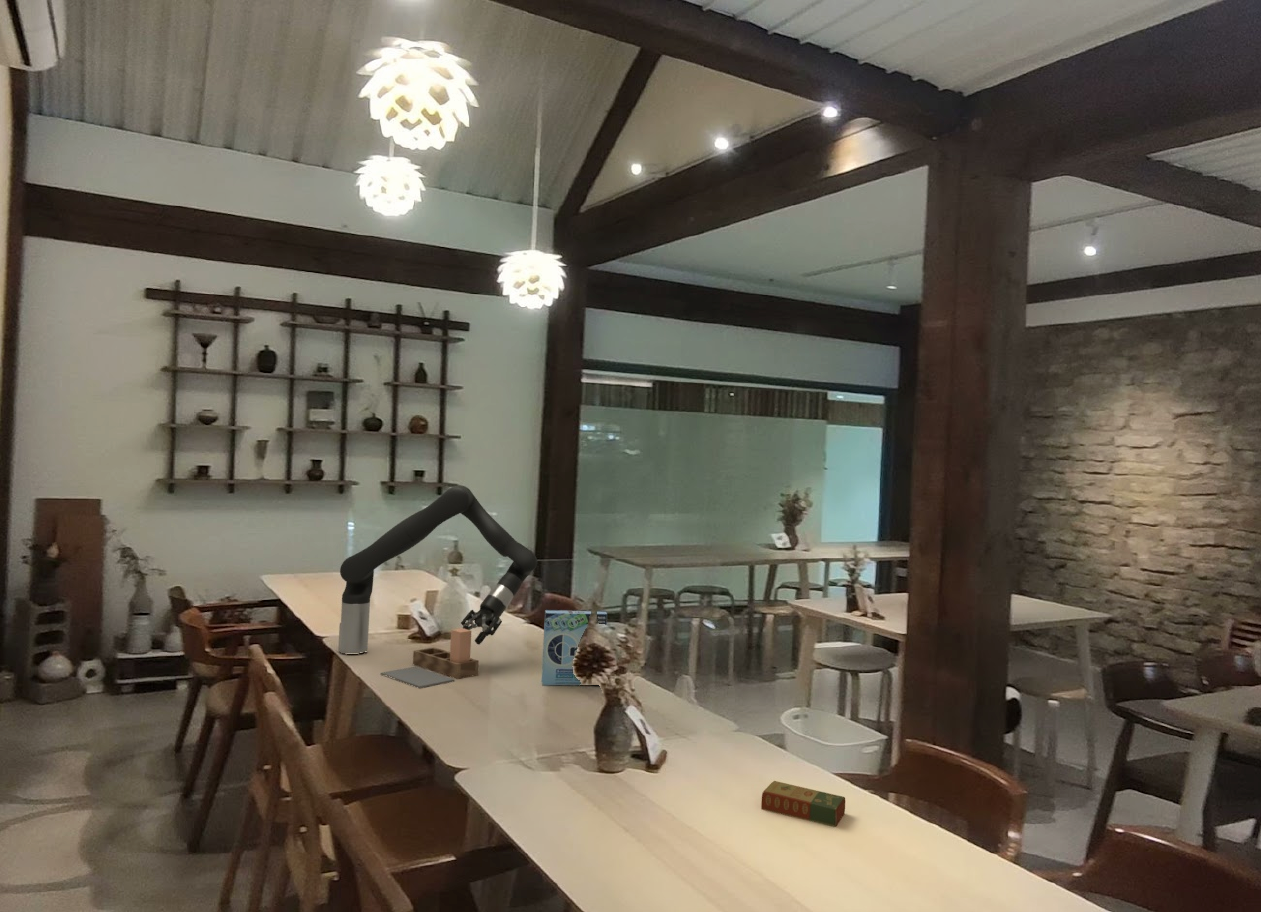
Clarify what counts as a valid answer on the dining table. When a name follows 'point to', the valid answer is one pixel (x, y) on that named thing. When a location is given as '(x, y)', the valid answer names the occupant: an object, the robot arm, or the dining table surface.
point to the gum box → (563, 644)
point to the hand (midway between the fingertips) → (468, 640)
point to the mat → (418, 677)
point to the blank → (460, 645)
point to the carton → (803, 803)
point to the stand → (444, 663)
